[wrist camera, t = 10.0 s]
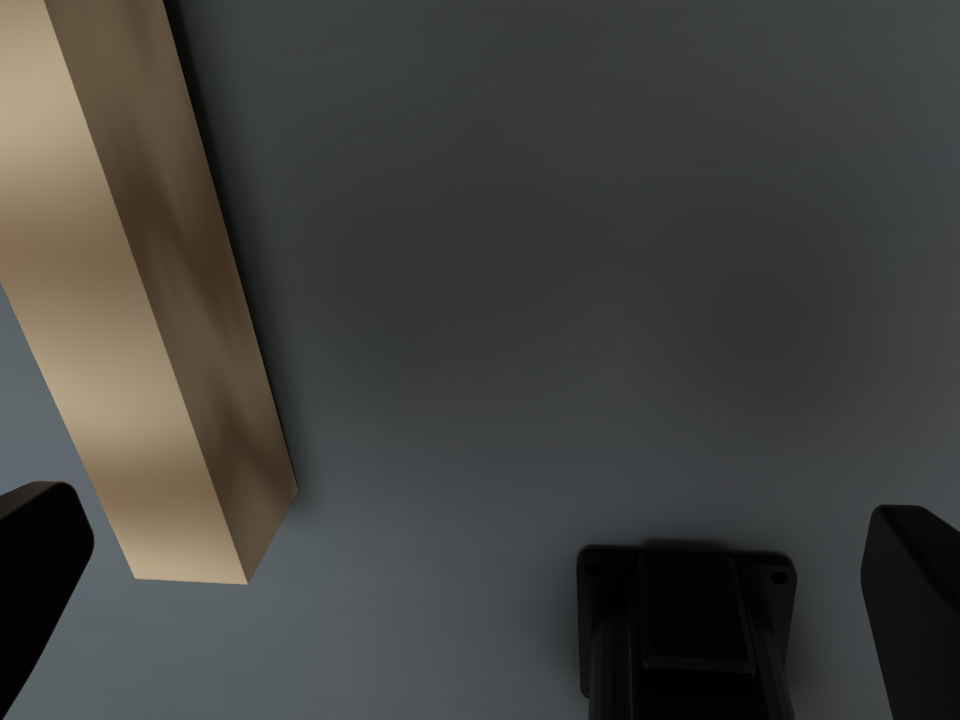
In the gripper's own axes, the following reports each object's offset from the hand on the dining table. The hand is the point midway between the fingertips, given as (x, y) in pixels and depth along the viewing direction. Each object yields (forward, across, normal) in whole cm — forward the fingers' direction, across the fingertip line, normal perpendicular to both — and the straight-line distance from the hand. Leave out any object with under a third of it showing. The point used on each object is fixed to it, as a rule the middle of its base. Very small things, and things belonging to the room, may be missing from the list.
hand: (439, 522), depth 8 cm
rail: (+12, +10, -1) cm, 15 cm away
